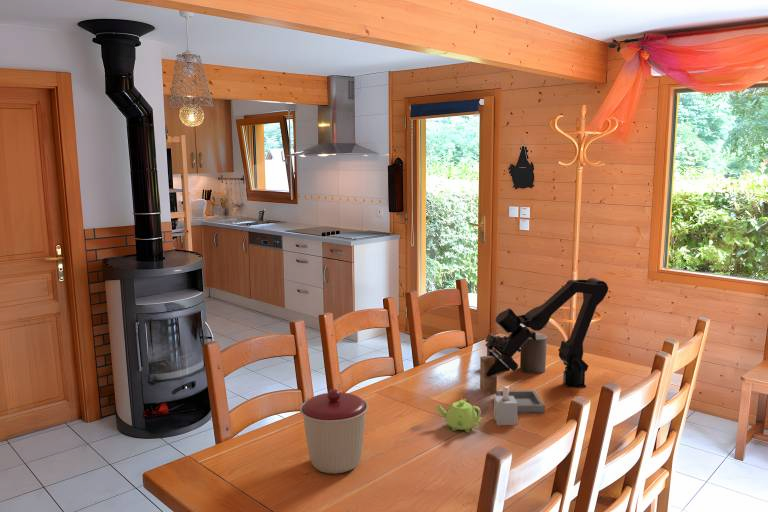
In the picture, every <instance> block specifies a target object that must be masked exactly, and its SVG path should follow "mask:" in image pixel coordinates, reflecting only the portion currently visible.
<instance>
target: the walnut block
mask: <svg viewBox="0 0 768 512" xmlns="http://www.w3.org/2000/svg"><path fill="white" fill-rule="evenodd" d="M479 361H480V362H479V363H480V365H479V366H480V368H479V374H480V375H479V390H480V391H481V392H482V394H484V395H486V394H487V393H489V394H496V391H498V390H497V389H498V388H497V386H498V385H497V383H498V382H497V378H498V376H497V374H498V373H497V374H494V375H492V376H489V377H488V376H487V375H486V374H487V372H488V371H489V370H490V368H491V367H492V366H493V364H494V363H495V358H494V357H493V356H487V355H485V356H480V360H479Z"/></svg>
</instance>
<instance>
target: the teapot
mask: <svg viewBox="0 0 768 512" xmlns="http://www.w3.org/2000/svg"><path fill="white" fill-rule="evenodd" d="M475 409H476V410H478V411H477V412H476V410H475ZM436 410H437V411H438V412H439V413H440V414H441V415H442V416H443V417H444V418H445V422H446V424H448V426H449V428H451V431H452V432H457V430H461V431H462V430H463V431H464V432H466V433H470V432H471V429H472V428H474V427H475V426H476V425H477V423H478V424H480V423H482V422H483V419H482V417H480V416H481V409H480V407H478V406H476V405H473V406H472V404H471V403H469V402H467V399H466V398H461V399H460V400H457V401H455V402H453V403H452V404H451V405H450V406H449V408H448V410H447V411H446V410H445V409H444V408H443V407H442V406H441V405H438V406H436Z"/></svg>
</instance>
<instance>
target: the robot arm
mask: <svg viewBox="0 0 768 512" xmlns="http://www.w3.org/2000/svg"><path fill="white" fill-rule="evenodd" d="M577 293H581V294H582V299H583V300H582V304H581V305H580V306H581V307H580V308H579V309H580V310H579V312H578V314H577V317H576V320H575V323H574V326H573V328H572V330H571V334H570V336H569V338H568V339H567V340H566V341H564V340H562V341H561V343H560V347H559V348H558V357H559V359H560V360H561V361H562V363H563V365H564V366H565V367H564V370H563V378H562V379H563V383H564V384H565V385H566V386H567V388H586V387H587V385H586V383H585V381H586V378H585V377H586V372H587V371H588V369H589V364H587V363H586V362H585V361H584V359H583V356H584V342H585V341H584V340H585V338H586V336H587V333H588V331H589V328H590V325H591V323H592V319H593V317H594V314H595V312H596V309H597V307H598V305H600V303H601V302H603V301H604V299H605V297H606V296H607V294H608V293H609V286H608V284H607V282H606V281H603V280H601V279H598V278H596V277H590V278H588V279H569V280H567V281H566V283H565V284H564V285H563V286H562V287H561V288H560V289H558V290H557V291H556V292H555V293H554V294H553V295H552V296H550V297H549V298H548V299H547V300H546V301H544V303H542V304H541V305H539V306H537V307H533V308H531V309H530V310H528V311H527V312H526V313H525V314H521V315H517V314H516V313H515V312H514V310H512V309H511V308H510V307H509V308H507V309H506V310H503V311H501V312H499V313H498V315H497V316H496V317H495V323H496V324H498V325H499V326H500V327H501V329H503V331H505V333H510V334H509V335H508V336H506V335H504V336H499V335H495V334H494V333H493V334H492V333H490V332H488V333H487V335H486V338H485V340H484V341H485V342H486V343H485V347H486V352H487V351H488V356H493V357H494V358H495V363H494V364H493V366H492V367H491V368H490V370H489V371H488V372H487V374H486V375H487V376H488V377H489V376H492V375H494V374H499V373H503V372H505V371H506V370H509V371H510V370H511V371H513V372H514V373H515V372H516V371H517V369H518V368H519V364H518V363H517V362H516V361H515V360H514V358H513V356H514V355H515V354H516V353H517V352H518V353H521V346H523V344H524V343H525V342H526V341H527V340H528V339H529V338H531V339H533V340H534V341H536V333H537V332H539V331H541V330H543V329H544V328H545V326H547V324H548V323H549V321H550V319H551V317H552V315H553V314H554V313H556V312H557V311H558V310H559V309H560V308H561V307H562V306H563V305H565V304H566V303H568V302H569V300H570V299H572V298H573V296H575V295H576V294H577ZM522 325H523V326H522ZM531 330H532V331H531ZM535 332H536V333H535ZM487 347H488V348H489V350H488V349H487ZM498 358H500V359H498ZM509 368H510V369H509Z"/></svg>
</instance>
